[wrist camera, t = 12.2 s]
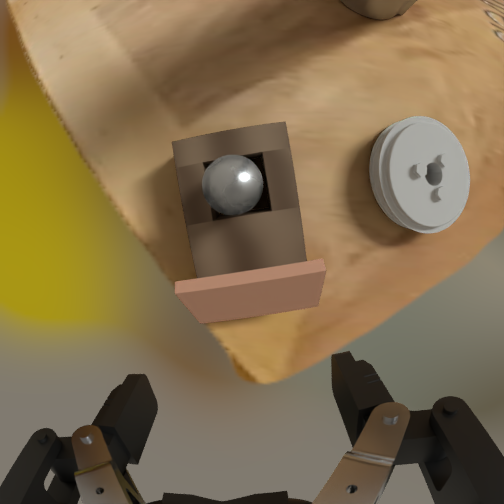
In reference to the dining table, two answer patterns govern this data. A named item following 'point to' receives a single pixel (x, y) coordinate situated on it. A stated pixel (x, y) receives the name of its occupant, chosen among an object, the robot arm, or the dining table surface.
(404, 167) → the lid
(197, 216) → the socket block
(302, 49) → the dining table surface
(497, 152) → the dining table surface
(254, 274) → the pink flat board
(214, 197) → the pin
